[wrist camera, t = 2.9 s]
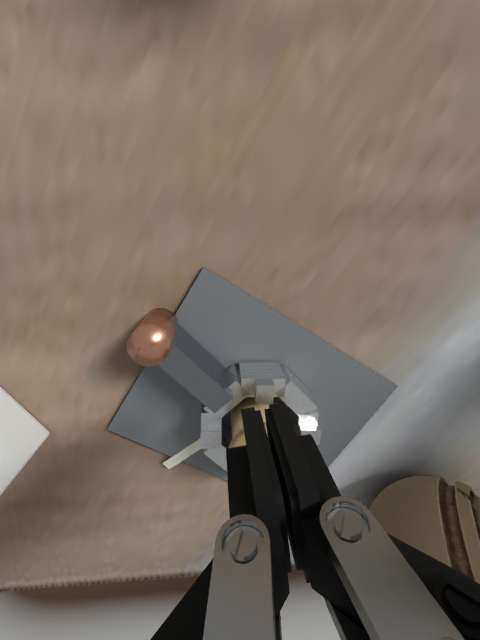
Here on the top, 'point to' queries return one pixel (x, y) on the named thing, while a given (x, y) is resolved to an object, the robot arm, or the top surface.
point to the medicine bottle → (16, 438)
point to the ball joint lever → (218, 381)
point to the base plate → (231, 348)
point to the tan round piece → (433, 520)
